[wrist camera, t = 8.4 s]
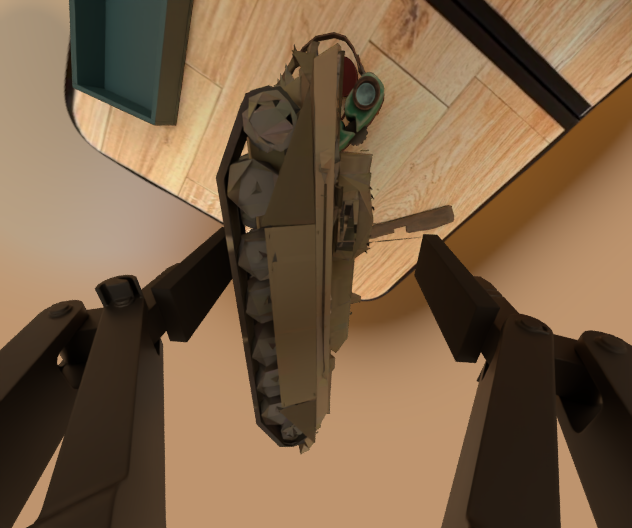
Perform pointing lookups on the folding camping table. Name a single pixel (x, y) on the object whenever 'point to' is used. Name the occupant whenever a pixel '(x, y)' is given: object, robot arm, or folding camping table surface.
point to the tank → (294, 239)
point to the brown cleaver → (416, 222)
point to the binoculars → (355, 96)
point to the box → (131, 54)
